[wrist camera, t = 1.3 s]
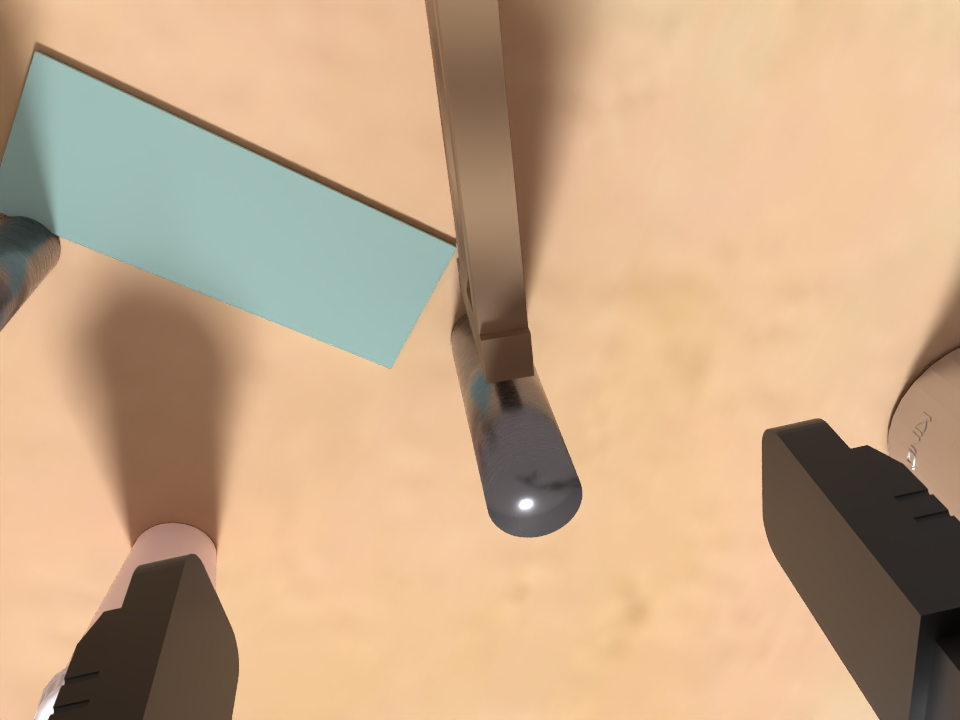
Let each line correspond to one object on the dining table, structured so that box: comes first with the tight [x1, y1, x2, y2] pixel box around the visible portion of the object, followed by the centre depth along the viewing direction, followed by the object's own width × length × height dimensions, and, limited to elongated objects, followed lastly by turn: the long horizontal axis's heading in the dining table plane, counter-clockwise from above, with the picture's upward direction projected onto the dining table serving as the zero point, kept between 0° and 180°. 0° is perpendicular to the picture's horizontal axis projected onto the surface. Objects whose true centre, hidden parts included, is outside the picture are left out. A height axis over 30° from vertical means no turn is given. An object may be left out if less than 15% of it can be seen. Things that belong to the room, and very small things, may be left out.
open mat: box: [0, 51, 457, 369], centre depth 32 cm, size 16×6×1 cm, turn 61°
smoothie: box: [34, 523, 217, 720], centre depth 33 cm, size 6×6×14 cm
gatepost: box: [451, 314, 582, 538], centre depth 31 cm, size 3×3×11 cm
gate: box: [425, 0, 534, 384], centre depth 27 cm, size 17×3×7 cm, turn 6°
